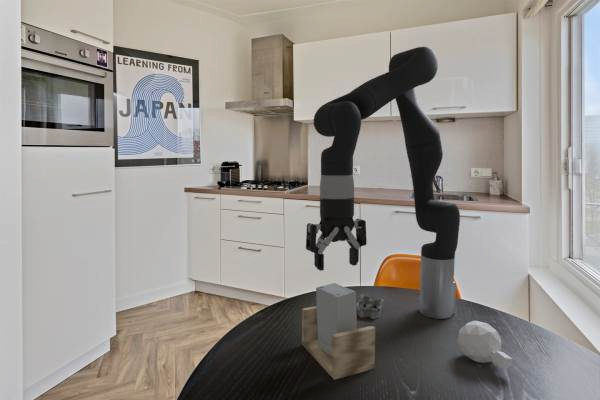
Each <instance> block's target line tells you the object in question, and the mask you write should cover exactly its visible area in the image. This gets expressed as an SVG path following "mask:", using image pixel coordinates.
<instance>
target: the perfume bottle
mask: <svg viewBox="0 0 600 400" xmlns="http://www.w3.org/2000/svg"><path fill="white" fill-rule="evenodd" d="M457 344H458V346H459V348H460V349H461V350H460V351H461V352H462V353H463V355H464V356H465V357H467V358H469V359H470V360H471V361H474V362H476V363H481V364H485V363H486V364H487V363H491V362H493V363H494V364H496V365H497V366H498V367H499V368H500V369H509V368H510V365H511V363H512V361H513V358H512V357H510V356H509V355H508V354H506V353H505V352H503V351H502V339H501V337H500V334H499V333H498V331H497V330H496V329H495V328H494V327H493V326H491V325H490V324H489V323H488V322H487V323H486V322H482V321H479V320H472V321H469V322H467V323H465V324H464V325H463V326H462V327H460V329H459V330H458V337H457Z"/></svg>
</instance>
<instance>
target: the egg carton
mask: <svg viewBox="0 0 600 400" xmlns="http://www.w3.org/2000/svg"><path fill="white" fill-rule="evenodd" d="M384 300H385V299H384V298H383V299H382V298H380V297H379V298H375V297H373V298H372V299H370V296H369V295H365V294H364V293H361V294H360V296H359V299H358V301H357V302H356V316H358V315H359V316H358V317H360V318H365V317H368V318H371V319H373V320H375V319H380V317H381V313H382V309H383V304H384V302H385V301H384ZM364 304H366V305H364ZM364 306H365V307H364ZM373 306H375V307H376V308H374V307H373Z"/></svg>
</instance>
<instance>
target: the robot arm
mask: <svg viewBox="0 0 600 400" xmlns="http://www.w3.org/2000/svg"><path fill="white" fill-rule="evenodd" d="M438 65H439V64H438V59H437V55H436V53H435V51H434V50H433V49H432V48H430V47H428V46H418V47H414V48H411V49H408V50H404V51H402V52H398V53H396V54H394V55H392V57H390V60H389V61H388V71H386V72H385V73H382V74H380V75H378V76H376V77H373V78H371V79H369V80H367V81H365V82H363V83H362V84H360V85H358V87H355V88H354V89H352V90H351V91H350V92H348V93H346V94H344V95H342V96H339V97H336V98H334V99H332V100H330V101H328V102H326V103H324V104H322V105H321V106H320V107H319V108H318V109H317V110H316V112H315V114H314V116H313V127H314V130H315V131H316V132H317V133H318V134H319V135H321V136H323V137H329V138H331V137H333V141H332V142H331V143H332V144H331V146H329V147H327V148H325V149H323V150H322V151H321V154H320V181H319V217H320V221H319V222H318V223H310V222H308V223H307V224H306V233H305V234H306V235H305V238H306V239H305V249H306V250H307V251H310V252H311V253H313V256H314V257H313V258H314V259H313V260H314V264H313V265H314V267H315V268H316V269H317V270H319V271H320V272H321V271H324V270H325V256H324V255H325V254H324V251H325V250H326V248H327V247H328V246H330V244H331V243H337V242H339V241H340V242H345V241H346V242H347V244H348V246H349V249H348V250H349V252H348V253H349V255H348V256H349V257H348V258H349V259H348V261H349V265H352V266H357V265H358V263H359V258H360V256H359V255H360V253H359V252H360V251H359V250H360V248H361V247H364V246H365V247H366V245H367V243H368V241H367V240H368V239H367V224H366V220H364V219H361V218H356V219H354V215H355V182H354V154H355V151H356V148H357V143H358V139H359V135H360V131H361V127H362V121H363V120H365V119H367V118H370V117H371V116H372V115H374V114H375V113H376V112H378V111H379V110H381V109H382V108H383V107H385V106H387V105H388V104H389V103H390V102H392V101H394V100H395V102H396V105H397V108H398V113H399V117H400V118H399V119H400V122H401V126H402V132H403V137H404V144H405V149H406V155H407V160H408V163H409V169H410V175H411V180H412V181H411V182H412V188H413V189H412V190H413V200H414V214H415V220H416V222H417V223H416V224H417V225H418V227H419V228H420V229H421V230H423V231H425V232H430V233H435V234H436V237H435V240H434V241H433V242H429V243H424V244H423V245H422V246H421V249H420V251H421V252H420V273H419V274H420V277H419V278H420V279H419V280H420V281H419V303H418V304H419V309H418V310H419V311H418V312H419V313H420V314H421V315H423V316H425V317H428V318H431V319H438V320H439V319H440V320H441V319H442V320H445V319H450V318H451V317H452V316H453V315H454V314H456V313H455V312H456V295H457V294H456V293H457V282H456V281H454V280H455V259H456V252H457V248H458V242H459V233H460V225H461V224H460V223H461V214H460V210H459V207H458V205H457V204H455V203H454V202H450V201H449V202H448V201H440V200H436V199H435V196H434V195H435V194H434V189H433V187H434V180H435V177H436V174H437V173H438V171H439V168H440V166H441V164H442V161H443V155H444V153H443V147H442V139H441V136H440V135H441V134H440V131H439V129H438V128H437V126H436V124H435V123H434V121H432V120H431V119H430V117H429V116H428V115H427V114H426V113H425V112H424V110H423V109H422V107H421V106H420V104H419V102H418V99H417V95H416V91H415V88H417V87H419V86H423V85H426V84H427V83H429V82H431V81H432V80H433V79H434V78H435V76H436V74H437V73H438V68H439V67H438ZM353 229H355V235H354V234H353V232H352V231H353ZM319 231H320V232H321V233H320V235H319V237H318V238H317V234H319ZM355 236H356V237H355Z"/></svg>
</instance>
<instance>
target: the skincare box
mask: <svg viewBox="0 0 600 400" xmlns="http://www.w3.org/2000/svg"><path fill="white" fill-rule="evenodd" d="M315 293H316V294H315V297H316V298H315V300H316V306H317V327H318V347H319V348H320V349H322V350H323V351H325V352H326V353H327V354H329V355H330V356H332V335H333V334H337V333H342V332H346V331H351V330H355V329H358V322H357V321H358V319H357V316H358V315H357V310H356V308H357V291H356V290H353V289H350V288H348V287H346V286H343V285H341V284H338V283H337V282H333V283H329V284H325V285H321V286H318V287H317V286H316V288H315Z"/></svg>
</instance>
